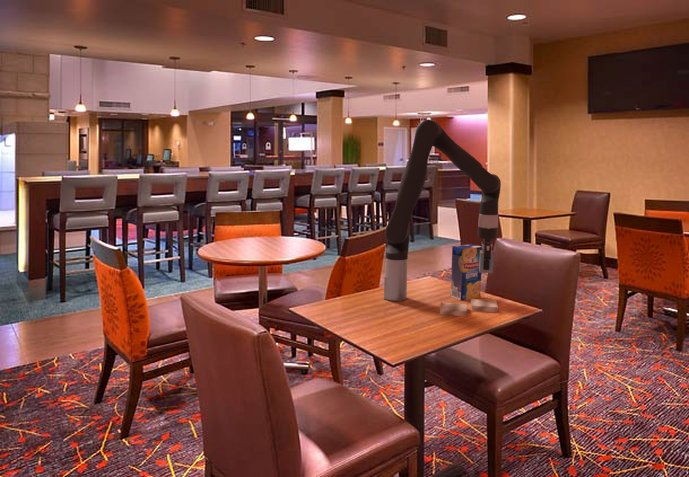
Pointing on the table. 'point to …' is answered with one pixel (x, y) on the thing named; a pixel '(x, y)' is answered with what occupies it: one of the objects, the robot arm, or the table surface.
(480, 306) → the stand
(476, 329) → the table surface
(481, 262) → the block
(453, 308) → the stand
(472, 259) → the blue food carton
